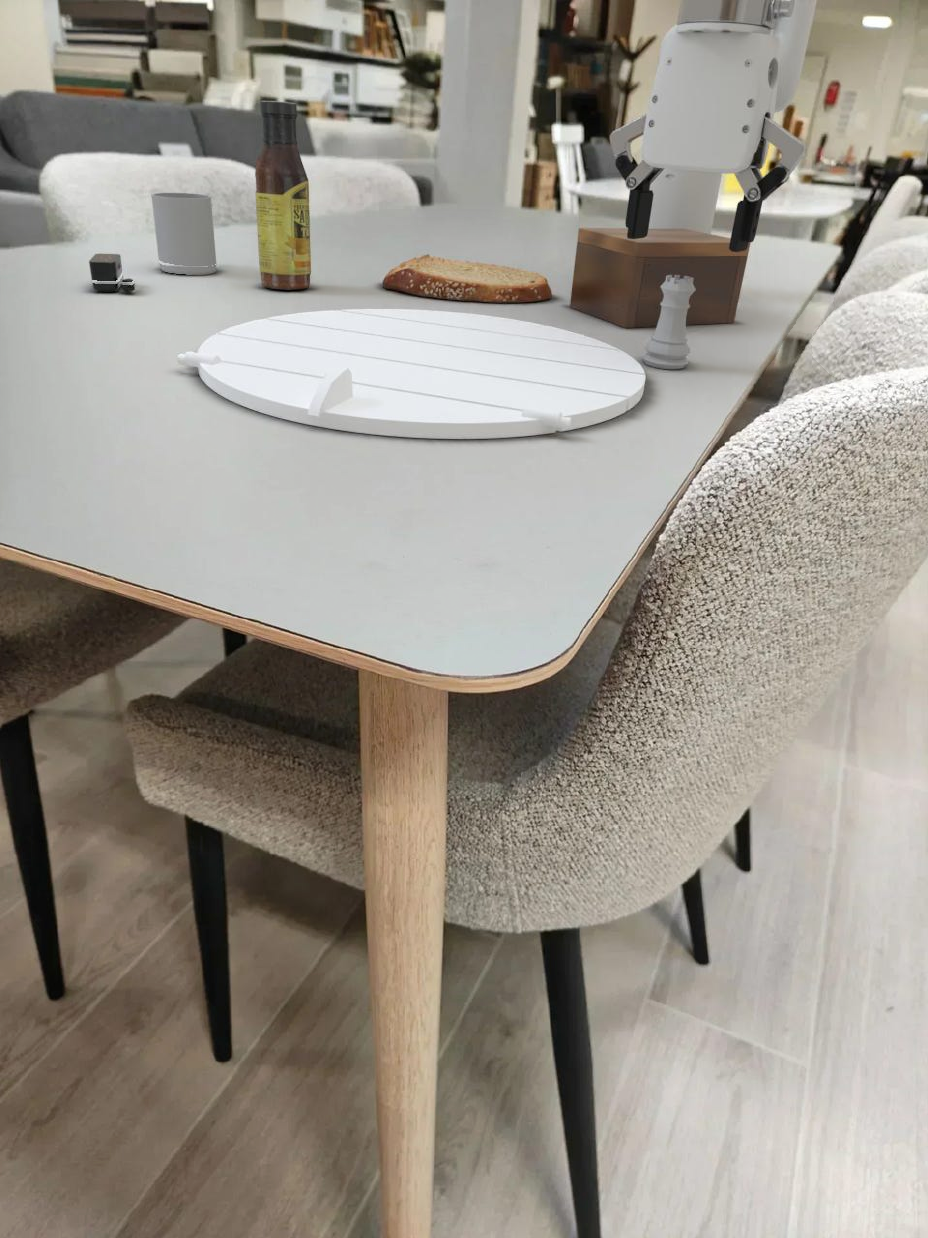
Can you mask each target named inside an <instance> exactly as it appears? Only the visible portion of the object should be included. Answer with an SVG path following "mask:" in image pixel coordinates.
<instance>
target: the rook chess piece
mask: <svg viewBox="0 0 928 1238" xmlns="http://www.w3.org/2000/svg"><path fill="white" fill-rule="evenodd" d="M679 278H680V275H674V278H672V275H667V276H666V280H665V282H664V283H663V284H662V285H661V286H660V287H661V289H662V291H663V293H664V298H663V301H662V302H661V303H660V305H661V307H662V308H661V314H660V318H659V321H658V324H657V327H655V330H654V333H653V334H652V335H651V336H650V338H651V339H650V340H649V341H648V342H647V343H646V344H645V347H644V349H645V351H646V353H645V354H644V355H642V358H643V361H644V363H645V365H647V366H649V367H653V368H657V369H661V370H681V369H684V368H685V367H686V366H687V365H688V364H689V363H690V361H689V359H687V358H686V357H687V356H688V355H689V354H690V353H691V349H690V347H689V345H688V339H687V332H686V327H687V325H686V316H687V310H688V308H689V307H690V305H689V298H690V296H691V295H692V294H693V293H694V291H695V290H696V289H695V287H694V285H693V280H694V278H691V277H690V279H689V276H684V278H683V279H680V280H679Z"/></svg>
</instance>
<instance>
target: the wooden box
mask: <svg viewBox="0 0 928 1238" xmlns="http://www.w3.org/2000/svg"><path fill="white" fill-rule="evenodd" d="M627 233H628V228H627V227H626V228H623V227H622V228H620V227H619V228H617V227H616V228H614V227H613V228H612V227H611V228H610V227H609V228H607V227H606V228H605V227H601V228H600V227H579V228H578V233H577V234H578V235H577V240H576V251H575V256H574V266H573V276H572V284H571V291H570V292H571V293H570V300H569V301H570V302H569V308H572V309H574V310H577V311H580V312H582V313H585V314H587V315H590V316H593V317H596V318H598V319H600V320H603V321H606V322H608V323H611V324H613V325H617V326H619V327H621V328H624V329H633V328H654V327H655V328H657V324H658V321H659V318H660V314H661V308H662V307H661V305H660V303H661V302H662V301H663V298H664V293H663V291H662V289H661V287H660V286H661V285H662V284H663V283H664V282H665V280H666V276H667V275H672V278H674V275H680V278H679V280H680V279H683V278H684V276H689V279H690V277H691V278H694V280H693V285H694V287H695V289H696V290H695V291H694V293H693V294H692V295H691V296H690V298H689V305H690V307H689V308H688V310H687V316H686V326H697V325H715V324H734V323H735V319H736V314H737V310H738V305H739V301H740V295H741V292H742V291H741V290H742V286H743V281H744V277H745V272H746V267H747V261H748V258H749V257H748V256H749V253H750V248H751V243H750V242H749V243H748V247H747V250H746V251H740V252H732V251H731V250H729V244H730V239H731V237H726V236H721V235H717V234H712V233H711V234H707V233H702V232H697V231H692V230H688V229H648V234H647V236H646V237H644V238H639V239H628V238H627Z"/></svg>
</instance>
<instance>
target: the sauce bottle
mask: <svg viewBox="0 0 928 1238" xmlns="http://www.w3.org/2000/svg"><path fill="white" fill-rule="evenodd" d="M260 115H261V118H262V128H263V129H262V130H263V138H262V142H263V145H264V146H263V148H262V151H261V154H260V155H259V156H258V158H257V161H256V164H255V172H254V176H255V188H256V190H255V210H256V211H255V212H256V228H257V229H256V231H257V246H258V248H257V249H258V263H259V264H258V265H259V271H260V277H261V278H260V282H261V285H262V286H264V287H265V288H267V289H272V290H285V291H292V290H302V289H307V288H309V287H310V285H311V274H312V262H311V261H312V255H311V253H312V252H311V250H312V249H311V217H310V183H309V178H308V175H307V173H306V170H305V167H304V164H303V161H302V158H301V154H300V152H299V151H300V150H299V147H298V140H297V125H296V124H297V123H296V122H297V118H298V110H297V103H295V102H290V101H280V100H279V101H278V100H261V101H260Z"/></svg>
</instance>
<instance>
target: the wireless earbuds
mask: <svg viewBox="0 0 928 1238" xmlns="http://www.w3.org/2000/svg"><path fill="white" fill-rule="evenodd" d="M88 264H89V270H90V272H89V273H90V278H91V281H92V280H97V281H116V280H118V278H119V277H120V275H121V273H122V271H123V265H122V256H121V254H119V253H95V254H94V255H93V256H92V257H91V258H90V259H89V260H88ZM133 280H134V279H132V278H129V277H128V278H124V275H123V276H122V278H121V279H120V281H119V282H118V283H117V284H95V283H92V282H91V284H92V289H93V290H94V291H95V292H97V293H116V292H117V291H118V290H119V289H120V287H121V290H122V291H123V292H124V293H129V292H134V291H135V290H136V286H135V285H136V283H134V284H133V285H122V284H121V282H132V281H133Z"/></svg>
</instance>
